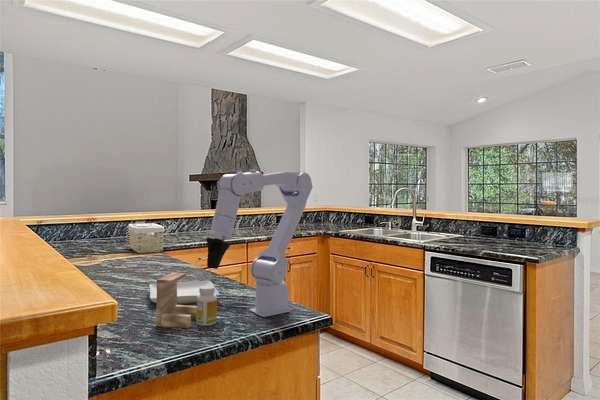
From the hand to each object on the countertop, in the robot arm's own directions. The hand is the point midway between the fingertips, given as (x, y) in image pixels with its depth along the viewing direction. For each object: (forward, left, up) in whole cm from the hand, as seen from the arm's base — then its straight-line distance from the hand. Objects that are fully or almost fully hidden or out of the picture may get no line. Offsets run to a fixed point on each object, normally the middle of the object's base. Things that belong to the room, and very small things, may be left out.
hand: (212, 268), depth 106 cm
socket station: (+4, -10, -16) cm, 19 cm away
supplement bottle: (-1, -5, -16) cm, 17 cm away
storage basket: (-28, -145, -16) cm, 149 cm away
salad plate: (-6, -34, -16) cm, 38 cm away
